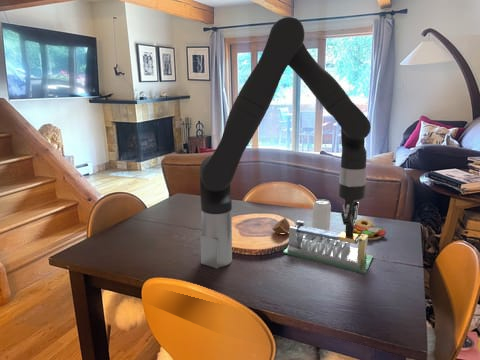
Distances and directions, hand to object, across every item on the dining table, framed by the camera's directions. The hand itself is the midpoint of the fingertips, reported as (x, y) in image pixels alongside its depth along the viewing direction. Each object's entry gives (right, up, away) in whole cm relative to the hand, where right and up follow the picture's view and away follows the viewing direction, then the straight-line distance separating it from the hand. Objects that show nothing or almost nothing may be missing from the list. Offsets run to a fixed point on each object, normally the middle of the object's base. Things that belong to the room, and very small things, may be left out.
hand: (349, 235), depth 110 cm
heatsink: (-5, -7, +5) cm, 10 cm away
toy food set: (+13, -3, +22) cm, 25 cm away
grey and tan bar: (-7, -1, +4) cm, 8 cm away
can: (-4, -2, +23) cm, 24 cm away
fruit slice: (-19, -3, +22) cm, 29 cm away
